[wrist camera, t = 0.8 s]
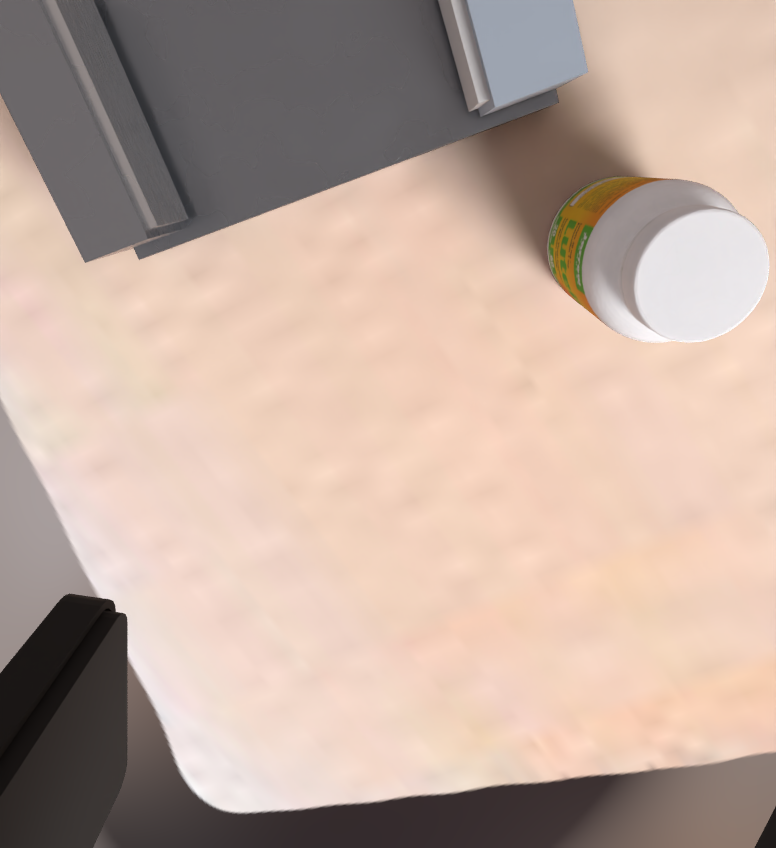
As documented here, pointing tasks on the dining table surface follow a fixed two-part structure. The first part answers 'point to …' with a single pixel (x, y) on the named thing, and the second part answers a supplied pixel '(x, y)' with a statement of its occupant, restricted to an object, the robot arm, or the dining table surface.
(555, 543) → the dining table surface
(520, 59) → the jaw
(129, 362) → the dining table surface
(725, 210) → the supplement bottle
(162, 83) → the vise bed
